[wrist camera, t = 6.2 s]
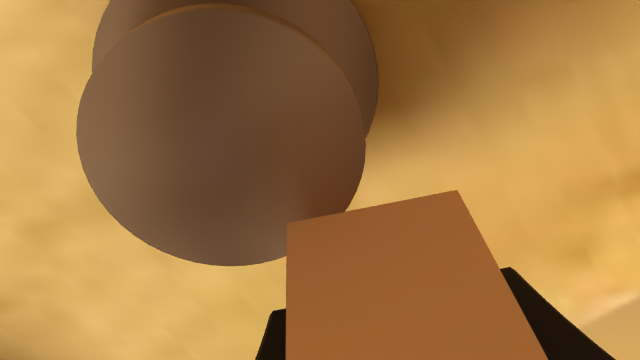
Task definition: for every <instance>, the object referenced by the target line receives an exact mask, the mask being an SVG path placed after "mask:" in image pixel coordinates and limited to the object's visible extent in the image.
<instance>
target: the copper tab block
mask: <svg viewBox="0 0 640 360" xmlns="http://www.w3.org/2000/svg"><path fill="white" fill-rule="evenodd" d="M286 360H548V358H547V356H546V355H545V353H544V351H543V349H542V347H541V345H540V343H539V342H538V340H537V338H536V336H535V334H534V332H533V330H532V328H531V327H530V325H529V323H528V321H527V319H526V317H525V315H524V314H523V312H522V310H521V308H520V306H519V304H518V302H517V300H516V299H515V297H514V295H513V293H512V291H511V289H510V287H509V286H508V284H507V282H506V280H505V278H504V276H503V274H502V273H501V271H500V269H499V267H498V265H497V263H496V261H495V259H494V258H493V256H492V254H491V252H490V250H489V248H488V246H487V245H486V243H485V241H484V239H483V237H482V235H481V233H480V231H479V230H478V228H477V226H476V224H475V222H474V220H473V218H472V217H471V215H470V213H469V211H468V209H467V207H466V205H465V204H464V202H463V200H462V198H461V196H460V194H459V192H458V190H455V191H449V192H444V193H439V194H434V195H429V196H424V197H419V198H414V199H408V200H403V201H398V202H393V203H388V204H383V205H378V206H373V207H367V208H362V209H357V210H352V211H347V212H342V213H337V214H332V215H326V216H321V217H316V218H311V219H306V220H301V221H296V222H291V223H287V263H286Z"/></svg>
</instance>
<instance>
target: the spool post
mask: <svg viewBox="0 0 640 360" xmlns="http://www.w3.org/2000/svg"><path fill="white" fill-rule="evenodd" d="M377 96H378V71H377V62H376V57H375V53H374V48H373V45H372V42H371V39H370V36H369V34H368V31H367V29H366V27H365V25H364V23H363V21H362V19H361V17H360V15H359V13H358V11H357V9H356V8H355V6H354V4H353V3H352V1H351V0H111V1H110V3H109V5H108V7H107V8H106V10H105V12H104V14H103V16H102V19H101V22H100V24H99V27H98V30H97V33H96V38H95V43H94V48H93V59H92V75H91V77H90V78H89V80H88V82H87V84H86V86H85V89H84V92H83V95H82V97H81V100H80V105H79V110H78V115H77V133H76V136H77V144H78V152H79V156H80V160H81V163H82V167H83V170H84V172H85V175H86V177H87V179H88V182H89V184H90V186H91V187H92V189H93V191H94V192H95V194H96V196H97V197H98V199H99V200H100V202H101V203H102V204H103V206H104V207H105V208H106V209H107V211H108V212H109V213H110V214H111V215H112V216H113V217H114V218H115V219H116V220H117V221H118V222H119V223H120V224H121V225H122V226H123V227H124V228H126V229H127V230H128V231H129V232H131V233H132V234H133V235H134V236H136V237H138V238H139V239H141V240H142V241H144V242H145V243H147V244H148V245H150V246H152V247H154V248H156V249H158V250H160V251H162V252H165V253H167V254H170V255H173V256H175V257H178V258H181V259H185V260H188V261H192V262H196V263H202V264H208V265H217V266H246V265H253V264H260V263H264V262H268V261H272V260H276V259H279V258H282V257H285V256H287V223H291V222H296V221H301V220H306V219H311V218H316V217H321V216H326V215H332V214H337V213H342V212H345V210H346V209H347V208H348V206H349V205H350V203H351V201H352V199H353V197H354V195H355V193H356V191H357V188H358V186H359V183H360V180H361V177H362V173H363V168H364V163H365V148H366V143H365V138H366V136H367V134H368V132H369V129H370V126H371V123H372V120H373V117H374V113H375V108H376V104H377Z"/></svg>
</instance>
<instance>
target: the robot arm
mask: <svg viewBox="0 0 640 360" xmlns="http://www.w3.org/2000/svg"><path fill="white" fill-rule="evenodd" d="M500 271H501V273H502V274H503V276H504V278H505V280H506V282H507V284H508V286H509V287H510V289H511V291H512V293H513V295H514V297H515V299H516V300H517V302H518V304H519V306H520V308H521V310H522V312H523V314H524V315H525V317H526V319H527V321H528V323H529V325H530V327H531V328H532V330H533V332H534V334H535V336H536V338H537V340H538V342H539V343H540V345H541V347H542V349H543V351H544V353H545V355H546V356H547V358H548V360H615V359H614V358H613V357H612V356H610V355H609V354H608V353H607V352H605V351H604V350H603V349H602V348H600V347H599V346H598V345H597V344H595V343H594V342H593V341H592V340H591V339H589V338H588V337H587V336H586V335H585V334H584V333H583V332H581V331H580V330H579V329H578V328H577V327H575V326H574V325H573V324H572V323H571V322H570V321H568V320H567V319H566V318H565V317H564V316H563V315H562V314H561V313H559V312H558V311H557V310H556V309H555V308H554V307H553V306H552V305H551V304H550V303H549V302H547V301H546V300H545V299H544V298H543V297H542V296H541V295H540V294H539V293H538V292H537V291H536V290H535V289H534V288H533V287H532V286H530V285H529V284H528V283H527V282H526V281H525V280H524V279H523V278H522V277H521V276H520V275H519V274H518V273H517V272H516V271H515V270H514V269H512V268H511V267H508V268H502V269H500ZM255 360H286V309H281V310H275V311H273V312H272V313H271V314H270V316H269V320H268V323H267V327H266V330H265V333H264V336H263V339H262V342H261V345H260V348H259V351H258V353H257V356H256V359H255Z"/></svg>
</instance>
